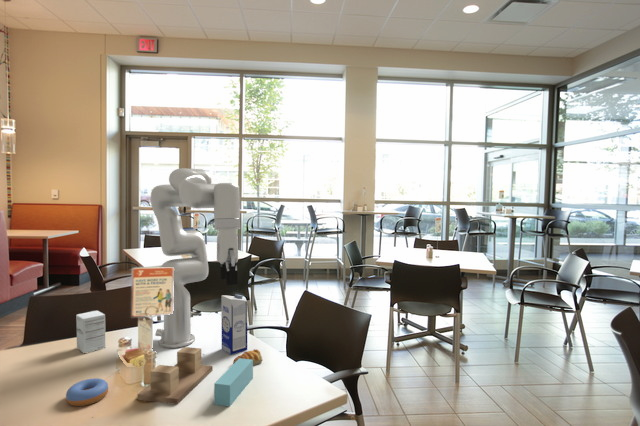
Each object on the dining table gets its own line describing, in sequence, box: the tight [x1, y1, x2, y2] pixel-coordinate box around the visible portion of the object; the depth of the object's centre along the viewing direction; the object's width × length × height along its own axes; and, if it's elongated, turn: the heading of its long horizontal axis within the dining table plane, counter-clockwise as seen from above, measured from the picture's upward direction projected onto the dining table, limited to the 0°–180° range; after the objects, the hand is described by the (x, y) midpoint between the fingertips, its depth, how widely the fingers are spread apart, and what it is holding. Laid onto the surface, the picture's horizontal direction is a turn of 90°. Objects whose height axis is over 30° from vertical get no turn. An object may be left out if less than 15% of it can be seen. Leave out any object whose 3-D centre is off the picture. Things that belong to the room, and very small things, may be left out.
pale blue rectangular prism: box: [213, 358, 254, 407], centre depth 109 cm, size 4×16×6 cm, turn 168°
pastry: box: [232, 349, 263, 366], centre depth 127 cm, size 9×7×4 cm
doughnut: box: [65, 377, 109, 407], centre depth 104 cm, size 10×10×5 cm
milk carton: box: [220, 294, 248, 355], centre depth 137 cm, size 7×7×20 cm
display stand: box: [137, 346, 214, 405], centre depth 112 cm, size 12×20×8 cm, turn 169°
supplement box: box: [75, 310, 107, 354], centre depth 137 cm, size 7×7×13 cm
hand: (228, 281), depth 113 cm, fingers open, 9 cm apart
